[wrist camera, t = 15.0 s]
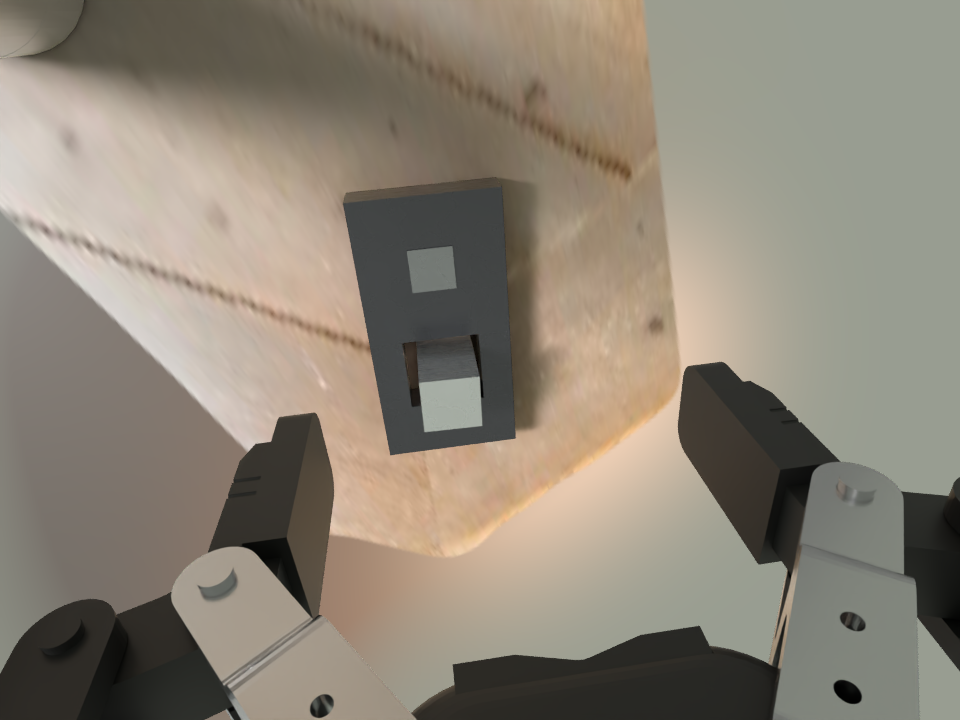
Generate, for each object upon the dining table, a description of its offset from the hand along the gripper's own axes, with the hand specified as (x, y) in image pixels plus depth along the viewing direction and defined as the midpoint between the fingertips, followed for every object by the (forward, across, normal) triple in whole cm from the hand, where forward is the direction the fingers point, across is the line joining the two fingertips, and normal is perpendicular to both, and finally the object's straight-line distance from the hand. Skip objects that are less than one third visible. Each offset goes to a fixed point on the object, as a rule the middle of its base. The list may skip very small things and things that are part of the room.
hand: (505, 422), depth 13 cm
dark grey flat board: (+30, +1, +12) cm, 32 cm away
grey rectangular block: (+30, +1, +15) cm, 34 cm away
